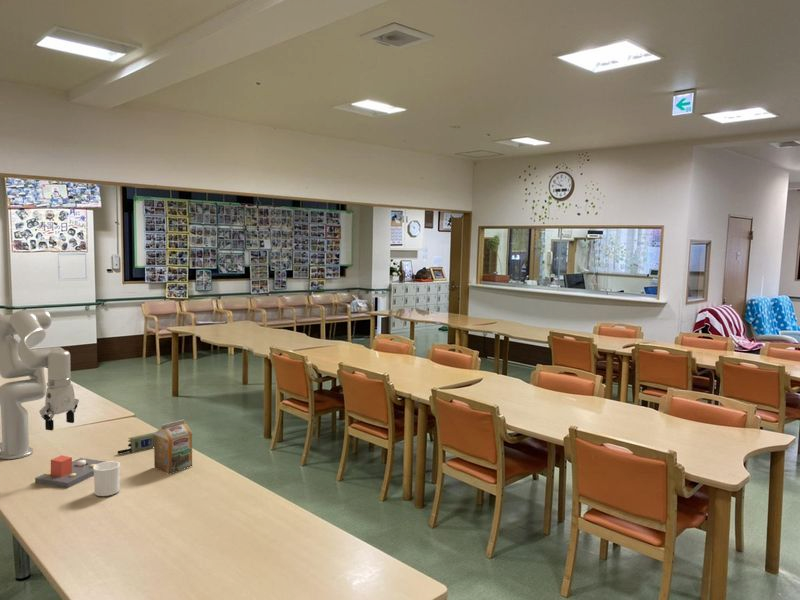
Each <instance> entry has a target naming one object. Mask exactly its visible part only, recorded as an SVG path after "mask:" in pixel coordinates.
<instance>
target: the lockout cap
mask: <svg viewBox="0 0 800 600" xmlns="http://www.w3.org/2000/svg"><path fill="white" fill-rule="evenodd" d="M72 462H73V457H71V456H65V455H59V456H56V457H55V458H52V459H50V471H51V475H53V476H58V477H63V476H65V475H67V474H69V473H71V472H72Z"/></svg>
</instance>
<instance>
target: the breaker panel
mask: <svg viewBox="0 0 800 600" xmlns="http://www.w3.org/2000/svg"><path fill="white" fill-rule="evenodd" d="M79 460H86V465H85V466H83V467H77V461H79ZM102 462H106V460H105V461H104V460H98V459H91V458H83V457H79V458H78V459H75V460H72V472H71V473H69V474H67V475H65V476H63V477H58V476H53V475H51V470H50V471H48V472H45V473H43V474H41V475H38V476H36V477H35V478H34V480H35V481H34V483H35V484H39V485H46V486H53V487H60V488H65V489H69V488H71V487H73V486H75V485H77V484H80V483H82V482H83V481H86V480H88V479H89V478H92V477H94V471H93V467H94V466H95V465H96V464H99V463H102Z"/></svg>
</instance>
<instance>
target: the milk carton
mask: <svg viewBox="0 0 800 600" xmlns="http://www.w3.org/2000/svg"><path fill="white" fill-rule="evenodd" d="M153 449H154V451H153V453H154V457H153V458H154V464H153V465H154V466H153V467H155V468H154V469H156V468H157V470H158V471H162V472H163V473H165V472H166V474H167V473H168V474H167V475H171V474H174V473H177V472H180V471H182V469H183V470H185V469H184V468H187V467H190V466H192V467H193V433H192V431H191V429H190V427H189V426H188V424H186V420H185V419H181V420H176V421H172V422H169V423H164V424H161V425H160V428H159V429H158V430H157V431H155V434H154V448H153ZM190 468H191V467H190ZM187 469H188V468H187ZM179 470H180V471H179ZM176 471H177V472H176ZM173 472H174V473H173ZM170 473H171V474H170Z"/></svg>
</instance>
